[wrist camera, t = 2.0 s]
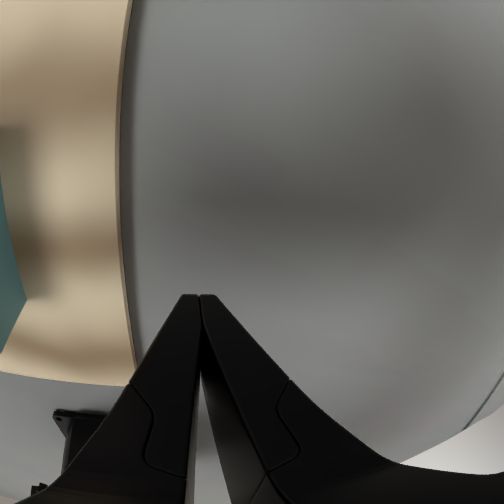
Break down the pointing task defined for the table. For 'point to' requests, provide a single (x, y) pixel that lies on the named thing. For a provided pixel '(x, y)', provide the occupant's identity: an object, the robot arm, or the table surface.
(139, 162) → the table surface
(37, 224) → the wooden base board
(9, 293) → the teal t-shaped block
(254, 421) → the robot arm
